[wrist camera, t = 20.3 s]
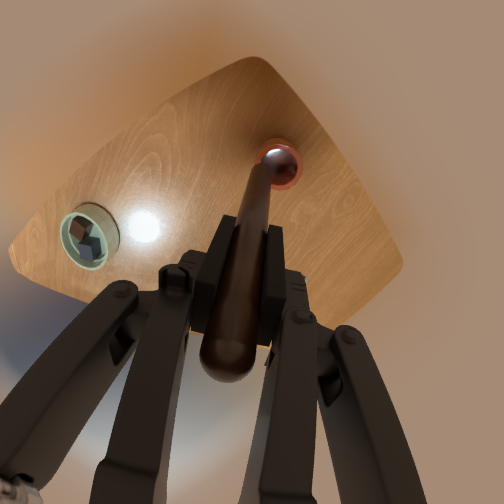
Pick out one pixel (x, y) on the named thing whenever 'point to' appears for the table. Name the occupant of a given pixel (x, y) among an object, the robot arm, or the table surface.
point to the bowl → (101, 229)
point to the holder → (281, 162)
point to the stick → (240, 288)
